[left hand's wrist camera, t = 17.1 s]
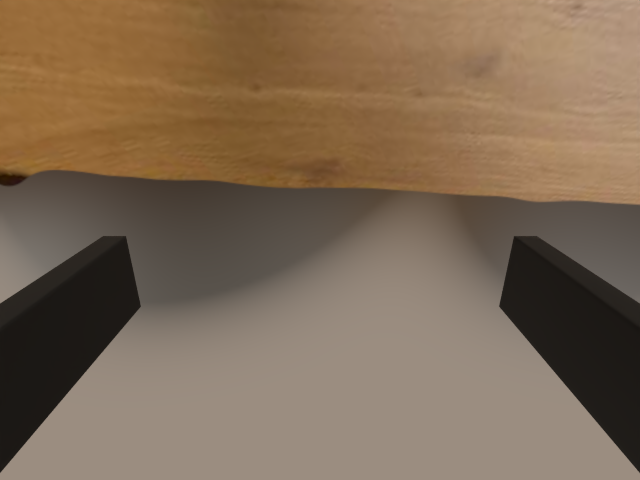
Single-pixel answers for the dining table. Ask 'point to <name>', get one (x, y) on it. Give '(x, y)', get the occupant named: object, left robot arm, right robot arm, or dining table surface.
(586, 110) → the dining table surface
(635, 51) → the dining table surface
